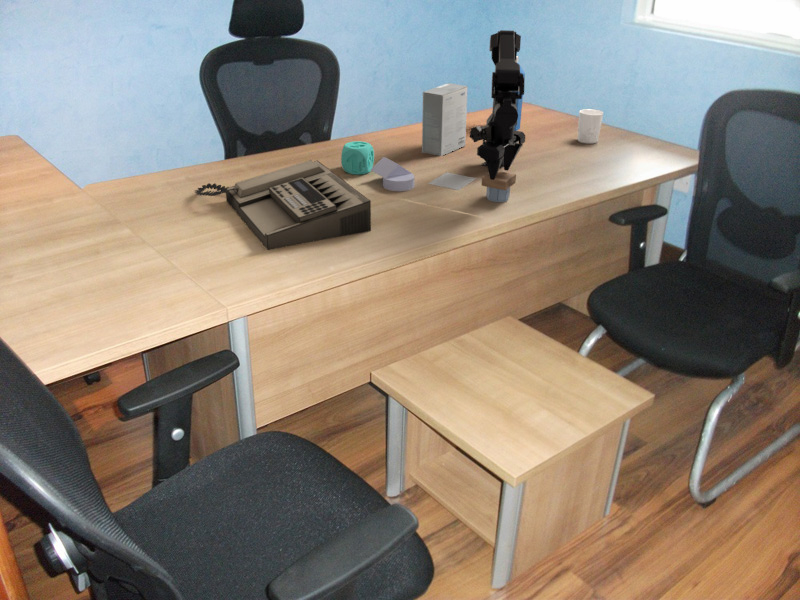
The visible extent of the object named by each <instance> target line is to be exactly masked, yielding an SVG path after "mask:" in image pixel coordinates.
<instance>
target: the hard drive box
mask: <svg viewBox="0 0 800 600" xmlns="http://www.w3.org/2000/svg"><path fill="white" fill-rule="evenodd" d="M467 108H468V85H465V84H464V85H462V84H458V83H449V82H448V83H444V84H441V85H440V86H435V87H433V88H431V89H428V90H427V89H426V90H425V91H422V119H421V120H422V121H421V122H422V125H421V126H422V127H421V128H422V129H421V130H422V131H421V134H422V135H421V136H422V137H421V140H422V141H421V153H422V154H429V155H434V156H439V157H442V156H443V155H444V156H446V155H448V154H450V153H453V152H455V151H457V150H460V149H462V148H463V147H466V141H467V139H466V136H467V134H466V133H467V110H468V109H467ZM461 147H462V148H461ZM459 148H460V149H459ZM452 151H453V152H452ZM445 154H446V155H445Z"/></svg>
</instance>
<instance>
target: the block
mask: <svg viewBox="0 0 800 600" xmlns="http://www.w3.org/2000/svg"><path fill="white" fill-rule="evenodd" d="M516 181H517V174H515V173H510V172H504V171H498V173H497V175H496V178H495V179H494V180H491V179H490V175H489V172H487V173H486V174H485V175H483V176H481V187H486V188H487V187H491V188H496V189H501V190H507V189H508V188H509V187H510V188H511V187H512V186H514V184H516Z"/></svg>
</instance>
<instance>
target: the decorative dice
mask: <svg viewBox="0 0 800 600" xmlns="http://www.w3.org/2000/svg"><path fill="white" fill-rule="evenodd" d="M342 147H343V148H342V150H341V157H340V158H341V161H340V162H341V168H342V169H343V170H344V172H345V173H346V174H348V175H352V176H353V175H355V176H356V175H357V176H359V175H360V176H361V175H366V174H369V173H371V172H372V171H371V169H372V168H373V167H374V163H375V150H374V146H373V145H371V143H369V142H367V141H361V140H357V141H355V140H353V141H349V142H347V143H344V145H343V146H342Z"/></svg>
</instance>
